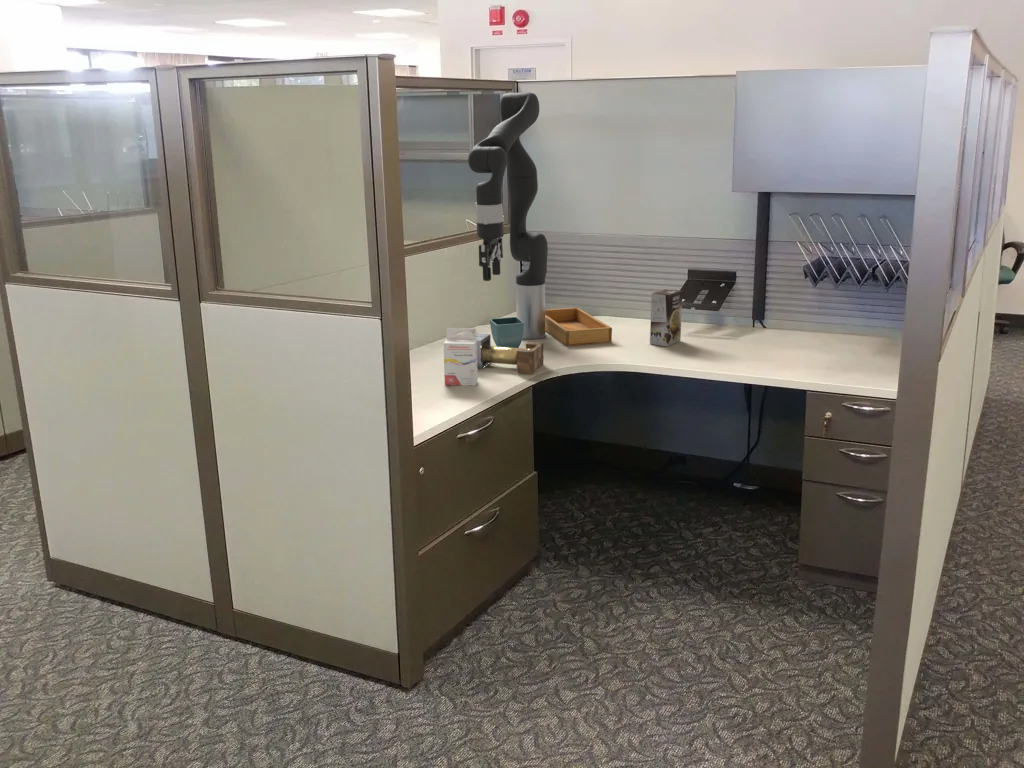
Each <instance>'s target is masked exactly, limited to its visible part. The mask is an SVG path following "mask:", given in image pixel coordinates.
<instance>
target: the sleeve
mask: <svg viewBox="0 0 1024 768" xmlns="http://www.w3.org/2000/svg"><path fill="white" fill-rule="evenodd" d="M460 335H466V332H462V333H461V334H460ZM476 340H477V370H480V369H482V368H483V367H484V366H486V365H487V364H488V363H485V362H482V345H483V346H492V345H491V341H492V340H491V333H490V334H489V333H479V332H478V333H477V332H476ZM488 365H489V364H488ZM488 365H487V366H488ZM487 366H486V367H487ZM484 368H485V367H484ZM484 368H483V369H484ZM483 369H482V370H483Z"/></svg>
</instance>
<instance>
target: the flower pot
mask: <svg viewBox="0 0 1024 768" xmlns="http://www.w3.org/2000/svg"><path fill="white" fill-rule="evenodd" d="M489 325H490V330H491V337H492V339H493V342H494V344H495V345H496V346H497V347H512V348H520V346H521V344H522V343H523V330H524V322H523V321H521V320H520V319H519V318H517V316H509V317H508V316H507V317H499V318H490V319H489Z"/></svg>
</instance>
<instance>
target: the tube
mask: <svg viewBox="0 0 1024 768" xmlns="http://www.w3.org/2000/svg"><path fill="white" fill-rule="evenodd" d="M519 349H523V350H532V348H528V349H526V347H524V348H523V347H519V348H512V347H497V346H495V345H494V346H493V345H491V346H483V345H482V362H485V363H490V364H500V365H501V364H502V365H514V366H517V350H519Z"/></svg>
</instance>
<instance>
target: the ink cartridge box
mask: <svg viewBox="0 0 1024 768" xmlns="http://www.w3.org/2000/svg"><path fill="white" fill-rule="evenodd" d="M445 331H446V332H445V333H446V339H445V341H444V342H443V366H444V367H443V368H444V369H443V371H444V386H469V385H472V386H477V383H478V369H477V340H476V333H477V329H476V328H473V327H472V328H470V327H469V328H468V327H466V328H465V327H464V328H463V327H447V328H445ZM460 332H462V333H466V335H461V334H459V333H460Z"/></svg>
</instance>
